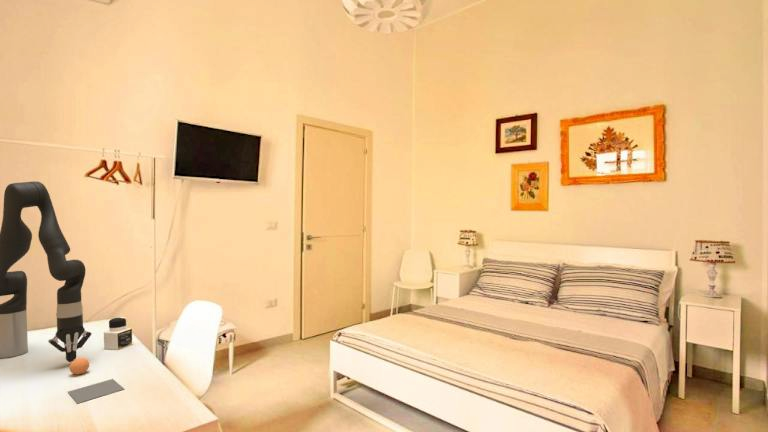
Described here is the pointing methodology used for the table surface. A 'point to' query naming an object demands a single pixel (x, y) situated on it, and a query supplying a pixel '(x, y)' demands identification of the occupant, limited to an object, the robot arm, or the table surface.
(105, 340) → the medicine bottle
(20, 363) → the table surface
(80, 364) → the ball
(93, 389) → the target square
